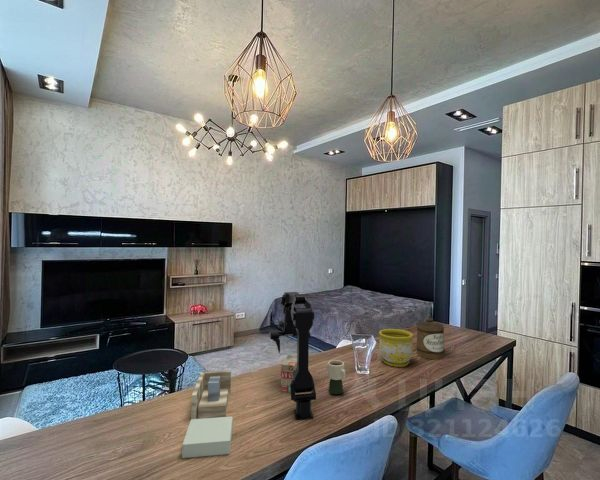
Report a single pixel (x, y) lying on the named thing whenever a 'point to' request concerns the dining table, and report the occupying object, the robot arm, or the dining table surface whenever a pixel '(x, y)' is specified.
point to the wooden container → (430, 339)
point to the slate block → (214, 389)
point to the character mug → (336, 376)
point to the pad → (208, 437)
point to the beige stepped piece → (201, 395)
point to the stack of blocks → (288, 372)
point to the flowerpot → (395, 347)
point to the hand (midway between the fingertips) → (288, 352)
